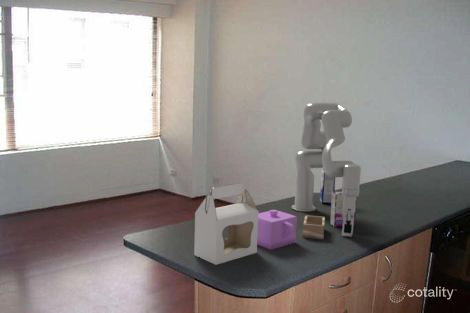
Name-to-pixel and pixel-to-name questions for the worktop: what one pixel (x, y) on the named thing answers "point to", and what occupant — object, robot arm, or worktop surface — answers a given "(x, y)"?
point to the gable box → (216, 219)
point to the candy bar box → (338, 209)
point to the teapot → (276, 229)
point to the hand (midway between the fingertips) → (347, 230)
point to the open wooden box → (313, 227)
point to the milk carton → (327, 188)
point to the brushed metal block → (343, 228)
